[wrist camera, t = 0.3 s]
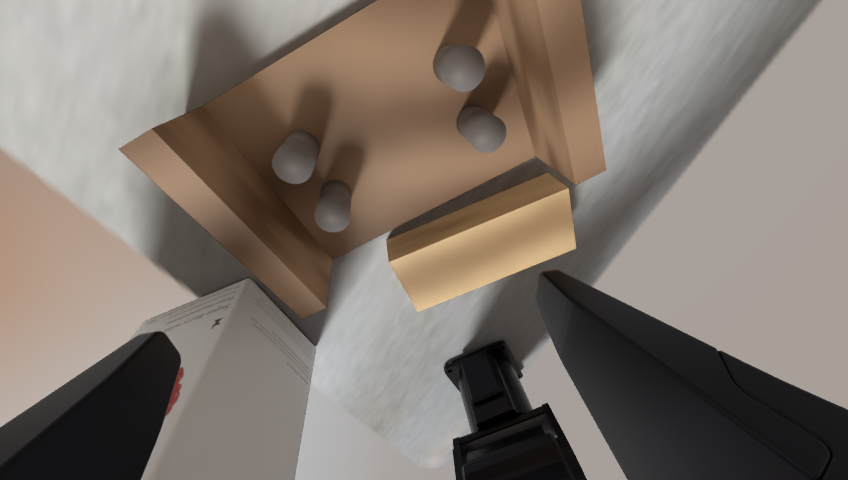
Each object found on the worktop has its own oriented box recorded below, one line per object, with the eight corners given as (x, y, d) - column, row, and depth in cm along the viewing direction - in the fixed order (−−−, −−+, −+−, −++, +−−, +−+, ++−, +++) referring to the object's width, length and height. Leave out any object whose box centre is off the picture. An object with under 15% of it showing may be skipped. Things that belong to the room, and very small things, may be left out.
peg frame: (553, 140, 21) (606, 170, 16) (314, 262, 23) (302, 319, 18) (501, -75, 15) (562, -123, 10) (184, 118, 17) (118, 149, 12)
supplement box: (251, 272, 22) (107, 573, 10) (319, 347, 27) (281, 610, 15) (137, 319, 23) (-132, 659, 10) (224, 384, 28) (111, 667, 15)
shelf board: (554, 227, 25) (576, 248, 22) (412, 284, 26) (417, 311, 23) (545, 170, 22) (568, 187, 20) (386, 237, 23) (388, 262, 20)
